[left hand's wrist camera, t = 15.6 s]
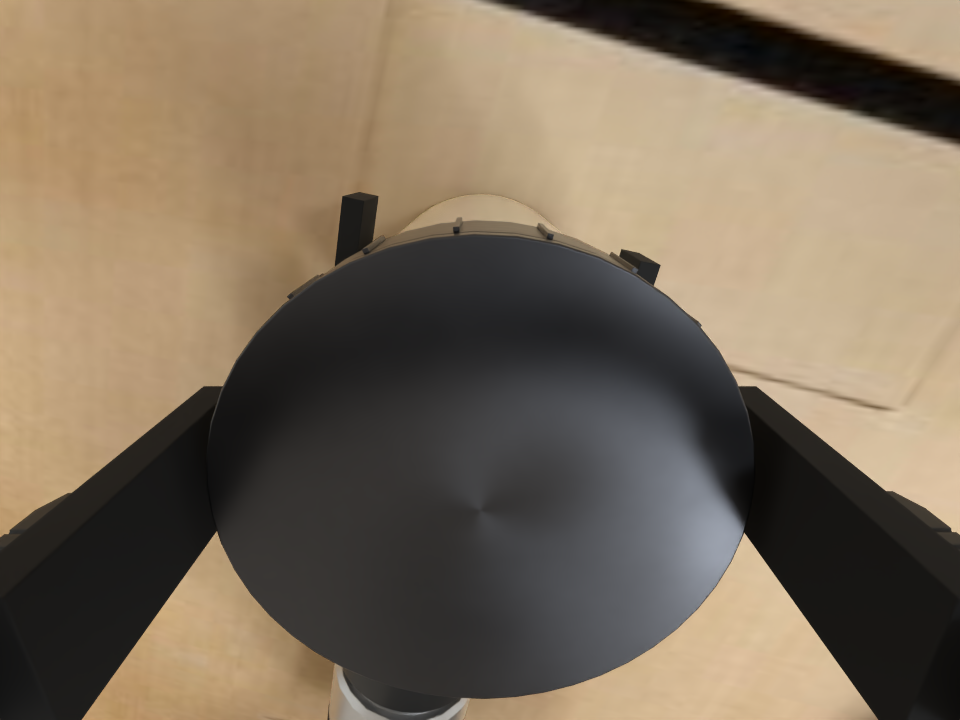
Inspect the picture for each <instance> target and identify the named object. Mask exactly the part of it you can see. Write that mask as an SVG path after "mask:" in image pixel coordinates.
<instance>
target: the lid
mask: <svg viewBox="0 0 960 720" xmlns="http://www.w3.org/2000/svg"><path fill="white" fill-rule="evenodd" d="M637 271H638V269H637V268H635V267H634V266H632V265H631V264H629V263H628V262H626V261H625V260H623V259H622V258H620V257H619V256H617V255H616V254H614V253H613V252H611V254H610V255H608V254H607V253H605V252H602V251H600V250H598V249H596V248H594V247H592V246H590V245H588V244H586V243H584V242H582V241H580V240H578V239H576V238H573V237H570V236H567V235H564V234H561V233H557V232H554V231H551V230H549V229H548V228H547V227H546V226H545V225H544V224H541V223H538V225H537V227H535V226H530V225H524V224H519V223H514V222H503V221H481V220H472V221H463V220H462V217H457V219H456V221H455V222H450V223H439V224H435V225H431V226H426V227H422V228H418V229H413V230H409V231H405V232H403V233H400V234H397V235H395V236H392V237H389V238H387V239H385V237H384V235H382V236H380V237H378V238H377V239H376V240H374V241H373V242H371V243H370V244H369V245H367V246H366V247H365V248H363V249H362V250H361V251H359V252H358V253H356V254H354V255H352V256H350V257H348V258H347V259H345V260H344V261H342V262H341V263H339V264H338V265H337V266H335V267H334V268H332V269H331V270H329V271H328V272H327V273H325V274H324V275H322V276H321V277H320V276H319V275H317V276H315V277H314V278H312V279H311V280H309V281H308V282H306V283H305V284H303V285H302V286H301V287H299V288H298V289H296V290H295V291H293V292H292V293H290V294H289V295H288V296H287V297H288V298H289V299H290V300H289V301H287V302H286V303H285V304H283V305H282V306H281V307H280V308H279V309H278V310H277V311H276V312H275V314H274V315H273V316H272V317H271V318H270V319H269V320H268V321H267V322H266V323H265V324H264V325H263V326H262V327H261V328H260V329H259V330H258V331H257V332H256V333H255V335H254V336H253V338H252V339H251V340H250V342H249V343H248V345H247V346H246V347H245V349H244V350H243V351H242V353H241V354H240V356H239V357H238V358H237V360H236V362H235V364H234V366H233V368H232V370H231V372H230V374H229V376H228V378H227V380H226V382H225V384H224V386H223V388H222V390H221V392H220V395H219V398H218V401H217V405H216V408H215V411H214V414H213V417H212V420H211V425H210V432H209V439H208V446H207V453H206V466H207V489H208V495H209V501H210V507H211V513H212V517H213V520H214V523H215V526H216V529H217V532H218V535H219V538H220V541H221V544H222V546H223V548H224V550H225V552H226V554H227V556H228V558H229V560H230V562H231V564H232V566H233V568H234V570H235V571H236V573H237V574H238V576H239V577H240V579H241V580H242V582H243V583H244V585H245V586H246V588H247V589H248V591H249V592H250V594H251V595H252V596H253V597H254V598H255V599H256V600H257V602H258V603H259V604H260V605H261V606H262V607H263V608H264V610H265V611H266V612H267V613H268V614H269V615H270V616H271V617H272V618H273V619H274V620H275V621H276V622H277V623H279V624H280V625H281V626H282V627H283V628H284V629H285V630H286V631H287V632H289V633H290V634H291V635H292V636H293V637H295V638H296V639H298V640H299V641H300V642H302V643H303V644H305V645H306V646H307V647H309V648H310V649H312V650H313V651H314V652H316V653H318V654H319V655H321V656H323V657H325V658H327V659H328V660H330V661H332V662H334V663H335V664H337V665H339V666H341V667H343V668H345V669H347V670H350V671H352V672H354V673H357V674H359V675H361V676H364V677H366V678H368V679H371V680H374V681H377V682H380V683H384V684H387V685H390V686H393V687H396V688H400V689H405V690H409V691H414V692H418V693H423V694H428V695H437V696H445V697H453V698H476V699H490V698H506V697H518V696H525V695H531V694H538V693H544V692H548V691H552V690H556V689H560V688H564V687H568V686H572V685H575V684H578V683H581V682H584V681H586V680H589V679H592V678H595V677H598V676H600V675H603V674H605V673H607V672H609V671H611V670H613V669H615V668H618V667H620V666H622V665H624V664H626V663H628V662H630V661H631V660H633V659H635V658H636V657H638V656H640V655H641V654H643V653H645V652H646V651H648V650H650V649H651V648H653V647H654V646H655V645H657V644H658V643H659V642H661V641H662V640H663V639H665V638H666V637H667V636H669V635H670V634H671V633H673V632H674V631H675V630H676V629H677V628H678V627H680V626H681V625H682V624H683V623H684V622H685V621H686V620H687V619H688V618H689V617H690V616H691V615H692V614H693V613H694V612H695V611H696V610H697V609H698V608H699V607H700V605H701V604H702V603H703V602H704V601H705V599H706V598H707V597H708V596H709V594H710V593H711V592H712V591H713V589H714V588H715V587H716V586H717V584H718V582H719V581H720V579H721V577H722V576H723V574H724V573H725V571H726V569H727V568H728V566H729V565H730V563H731V561H732V559H733V557H734V554H735V552H736V550H737V548H738V545H739V543H740V541H741V539H742V536H743V534H744V530H745V527H746V523H747V520H748V516H749V513H750V509H751V505H752V497H753V489H754V481H755V457H754V441H753V436H752V431H751V426H750V421H749V416H748V411H747V409H746V406H745V403H744V401H743V398H742V395H741V393H740V390H739V387H738V384H737V382H736V380H735V378H734V376H733V374H732V373H731V371H730V369H729V367H728V366H727V364H726V362H725V360H724V359H723V357H722V355H721V353H720V351H719V350H718V349H717V347H716V346H715V345H714V344H713V342H712V341H711V340H710V339H709V337H708V336H707V335H706V334H705V332H704V331H703V330H702V329H701V326H702V325H701V324H700V323H699V322H698V321H697V320H695V319H694V318H693V317H691V316H690V315H689V314H687V313H686V312H685V311H684V310H683V309H681V308H680V307H679V306H678V305H677V304H676V303H675V302H674V301H673V300H672V299H671V298H670V297H668V296H667V295H666V294H664V293H663V292H661V291H660V290H658V289H657V288H656V287H654V286H653V285H651V284H650V283H649V282H647V281H646V280H644V279H643V278H641V277H640V276H639V275H637V274H636V273H637Z"/></svg>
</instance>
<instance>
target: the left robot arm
mask: <svg viewBox="0 0 960 720" xmlns="http://www.w3.org/2000/svg"><path fill="white" fill-rule="evenodd" d="M738 387H739V390H740V393H741V395H742V398H743V401H744V403H745V406H746V409H747V411H748V416H749V421H750V426H751V431H752V436H753V441H754V457H755V481H754V489H753V497H752V505H751V509H750V513H749V516H748V520H747V523H746V527H745V530H744V533H745V534H746V535H747V537H748V538H749V540H750V541H751V542H752V544H753V545H754V547H755V548H756V549H757V551H758V552H759V554H760V555H761V556H762V558H763V559H764V561H765V562H766V563H767V565H768V566H769V568H770V569H771V570H772V572H773V573H774V575H775V576H776V577H777V579H778V580H779V582H780V583H781V584H782V586H783V587H784V588H785V590H786V591H787V593H788V594H789V595H790V597H791V598H792V600H793V601H794V602H795V604H796V605H797V607H798V608H799V609H800V611H801V612H802V614H803V615H804V616H805V618H806V619H807V621H808V622H809V623H810V625H811V626H812V628H813V629H814V630H815V632H816V633H817V635H818V636H819V637H820V639H821V640H822V642H823V643H824V644H825V646H826V647H827V649H828V650H829V651H830V653H831V654H832V656H833V657H834V658H835V660H836V661H837V662H838V664H839V665H840V667H841V668H842V669H843V671H844V672H845V674H846V675H847V676H848V678H849V679H850V681H851V682H852V683H853V685H854V686H855V688H856V689H857V690H858V692H859V693H860V695H861V696H862V697H863V699H864V700H865V702H866V703H867V704H868V706H869V707H870V709H871V710H872V711H873V713H874V714H875V716H876V717H877V718H878V720H960V535H959V534H958V533H957V532H952V531H951V528H950V527H949V526H947V525H946V524H945V523H944V522H942V521H941V520H940V519H938V518H937V517H936V516H935V515H933V514H932V513H931V512H929V511H928V510H927V509H926V508H924V507H922V506H920V505H918V504H916V503H914V502H912V501H910V500H908V499H906V498H904V497H903V496H901V495H899V494H897V493H895V492H893V491H885V490H884V489H883V488H881V487H880V486H879V485H878V484H876V483H875V482H874V481H873V480H871V479H870V478H869V477H868V476H866V475H865V474H864V473H863V472H861V471H860V470H859V469H858V468H857V467H855V466H854V465H853V464H852V463H850V462H849V461H848V460H847V459H845V458H844V457H843V456H842V455H840V454H839V453H838V452H837V451H835V450H834V449H833V448H832V447H831V446H829V445H828V444H827V443H826V442H824V441H823V440H822V439H821V438H819V437H818V436H817V435H816V434H814V433H813V432H812V431H811V430H810V429H808V428H807V427H806V426H805V425H803V424H802V423H801V422H800V421H798V420H797V419H796V418H795V417H793V416H792V415H791V414H790V413H788V412H787V411H786V410H785V409H784V408H782V407H781V406H780V405H779V404H777V403H776V402H775V401H774V400H772V399H771V398H770V397H769V396H767V395H766V394H765V393H764V392H762V391H761V390H760V389H759V388H758V387H756V386H738ZM222 388H223V386H204V387H202V388H201V389H200V390H199V391H198V392H196V393H195V394H194V395H193V396H191V397H190V398H189V399H188V400H186V401H185V402H184V403H183V404H181V405H180V406H179V407H178V408H176V409H175V410H174V411H173V412H172V413H170V414H169V415H168V416H167V417H165V418H164V419H163V420H162V421H160V422H159V423H158V424H157V425H155V426H154V427H153V428H152V429H150V430H149V431H148V432H147V433H146V434H144V435H143V436H142V437H141V438H139V439H138V440H137V441H136V442H134V443H133V444H132V445H131V446H129V447H128V448H127V449H126V450H125V451H123V452H122V453H121V454H120V455H118V456H117V457H116V458H115V459H113V460H112V461H111V462H110V463H108V464H107V465H106V466H105V467H103V468H102V469H101V470H100V471H99V472H97V473H96V474H95V475H94V476H92V477H91V478H90V479H89V480H87V481H86V482H85V483H84V484H82V485H81V486H80V487H79V488H77V489H76V490H75V491H74V492H73V493H67V494H65V495H64V496H62V497H60V498H58V499H56V500H54V501H52V502H50V503H48V504H46V505H44V506H42V507H41V508H39V509H37V510H35V511H34V512H32V513H31V514H30V515H29V516H27V517H26V518H25V519H23V520H22V521H21V522H20V523H18V524H17V525H16V526H14V527H13V528H12V529H11V530H10V533H9V534H4V535H3V536H2V537H0V720H82V718H83V717H84V716H85V714H86V713H87V711H88V710H89V709H90V707H91V706H92V704H93V703H94V702H95V700H96V699H97V697H98V696H99V695H100V693H101V692H102V690H103V689H104V688H105V686H106V685H107V683H108V682H109V681H110V679H111V678H112V676H113V675H114V674H115V672H116V671H117V669H118V668H119V667H120V665H121V664H122V662H123V661H124V660H125V658H126V657H127V656H128V654H129V653H130V651H131V650H132V649H133V647H134V646H135V644H136V643H137V642H138V640H139V639H140V637H141V636H142V635H143V633H144V632H145V630H146V629H147V628H148V626H149V625H150V623H151V622H152V621H153V619H154V618H155V616H156V615H157V614H158V612H159V611H160V609H161V608H162V607H163V605H164V604H165V602H166V601H167V600H168V598H169V597H170V595H171V594H172V593H173V591H174V590H175V588H176V587H177V586H178V584H179V583H180V581H181V580H182V579H183V577H184V576H185V575H186V573H187V572H188V570H189V569H190V568H191V566H192V565H193V563H194V562H195V561H196V559H197V558H198V556H199V555H200V554H201V552H202V551H203V549H204V548H205V547H206V545H207V544H208V542H209V541H210V540H211V538H212V537H213V535H214V534H215V533H216V531H217V529H216V526H215V523H214V520H213V517H212V513H211V507H210V501H209V495H208V489H207V466H206V453H207V446H208V439H209V432H210V425H211V420H212V417H213V414H214V411H215V408H216V405H217V401H218V398H219V395H220V392H221V390H222Z"/></svg>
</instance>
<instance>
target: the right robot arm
mask: <svg viewBox="0 0 960 720" xmlns="http://www.w3.org/2000/svg"><path fill="white" fill-rule="evenodd" d="M377 204H378V196H375V195H370V194H366V193H361V192H358V193H354V194H350V195H346V196H342V205H341V215H340V224H339V233H338V242H337V251H336V260H335V266H337V265H338V264H339V263H341V262H342V261H344V260H345V259H347V258H348V257H350V256H352V255H354V254H356V253H358V252H359V251H361V250H362V249H363V248H365V247H366V246H367V245H369V244H370V243H371V242H372V241H373V234H374V226H375V219H376V211H377ZM619 257H620V258H622V259H623V260H625V261H626V262H628V263H629V264H631V265H632V266H634V267H635V268H637V269H638V271H637V273H636V274H637V275H639V276H640V277H641V278H643V279H644V280H646V281H647V282H649V283H650V284H651V285H653V286H654V283H655V280H656V277H657V274H658V271H659V268H660V265H659V264H658V263H656V262H654V261H652V260H650V259H649V258H647V257H645V256H643V255H642V254H640V253H637V252H632V251H627V250H623V249H621V252H620V256H619ZM322 275H324V274H321V275H320V277H321V276H322ZM469 702H470V698H453V697H445V696H437V695H428V694H423V693H418V692H414V691H409V690H405V689H400V688H396V687H393V686H390V685H387V684H384V683H380V682H377V681H374V680H371V679H368V678H366V677H364V676H361V675H359V674H357V673H354V672H352V671H350V670H347V669H345V668H343V667H341V666H339V665H337V664H335V666H334V673H333V680H332V688H331V695H330V703H329V709H328V720H464V718H465V714H466V711H467V708H468V705H469Z"/></svg>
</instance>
